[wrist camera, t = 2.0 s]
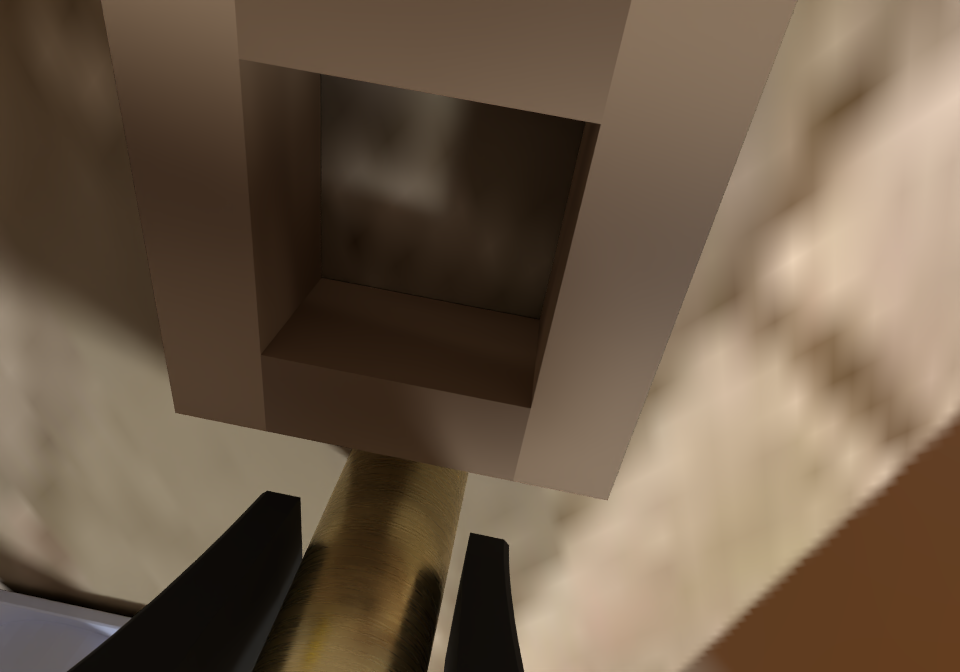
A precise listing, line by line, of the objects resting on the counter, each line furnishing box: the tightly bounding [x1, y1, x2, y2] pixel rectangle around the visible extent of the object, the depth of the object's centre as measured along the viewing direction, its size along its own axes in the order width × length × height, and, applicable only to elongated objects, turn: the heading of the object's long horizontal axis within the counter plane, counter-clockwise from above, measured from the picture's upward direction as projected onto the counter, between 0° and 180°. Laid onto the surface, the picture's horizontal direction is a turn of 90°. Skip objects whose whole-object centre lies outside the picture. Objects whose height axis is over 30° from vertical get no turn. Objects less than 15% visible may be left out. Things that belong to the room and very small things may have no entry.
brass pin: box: [252, 449, 468, 672], centre depth 10 cm, size 2×2×8 cm
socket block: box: [101, 0, 798, 500], centre depth 9 cm, size 7×7×2 cm
